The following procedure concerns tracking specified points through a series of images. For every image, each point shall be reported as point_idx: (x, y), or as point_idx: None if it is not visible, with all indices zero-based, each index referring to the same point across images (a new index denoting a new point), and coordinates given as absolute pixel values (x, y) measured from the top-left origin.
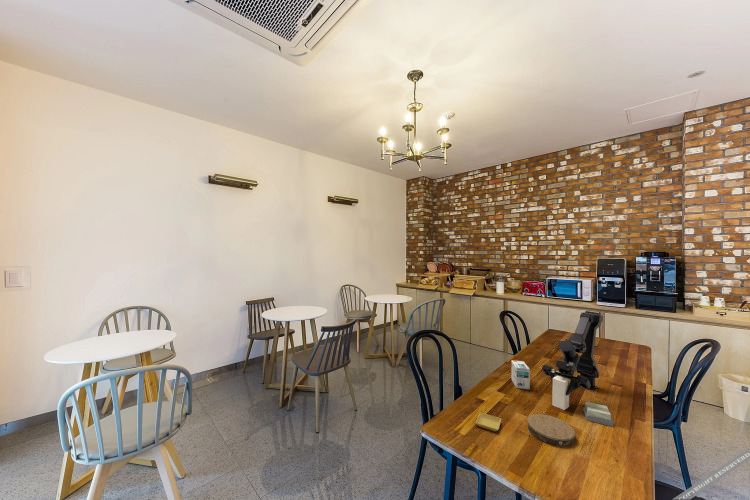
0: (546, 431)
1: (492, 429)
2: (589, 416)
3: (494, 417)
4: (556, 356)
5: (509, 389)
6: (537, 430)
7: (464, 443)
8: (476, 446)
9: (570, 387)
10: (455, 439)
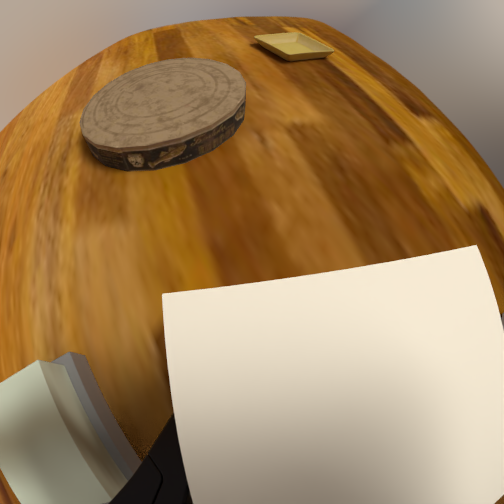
0: (157, 70)
1: (266, 39)
2: (56, 359)
3: (303, 52)
4: None
5: (495, 266)
6: (179, 59)
7: (261, 21)
8: (244, 24)
9: (153, 464)
10: (276, 21)
